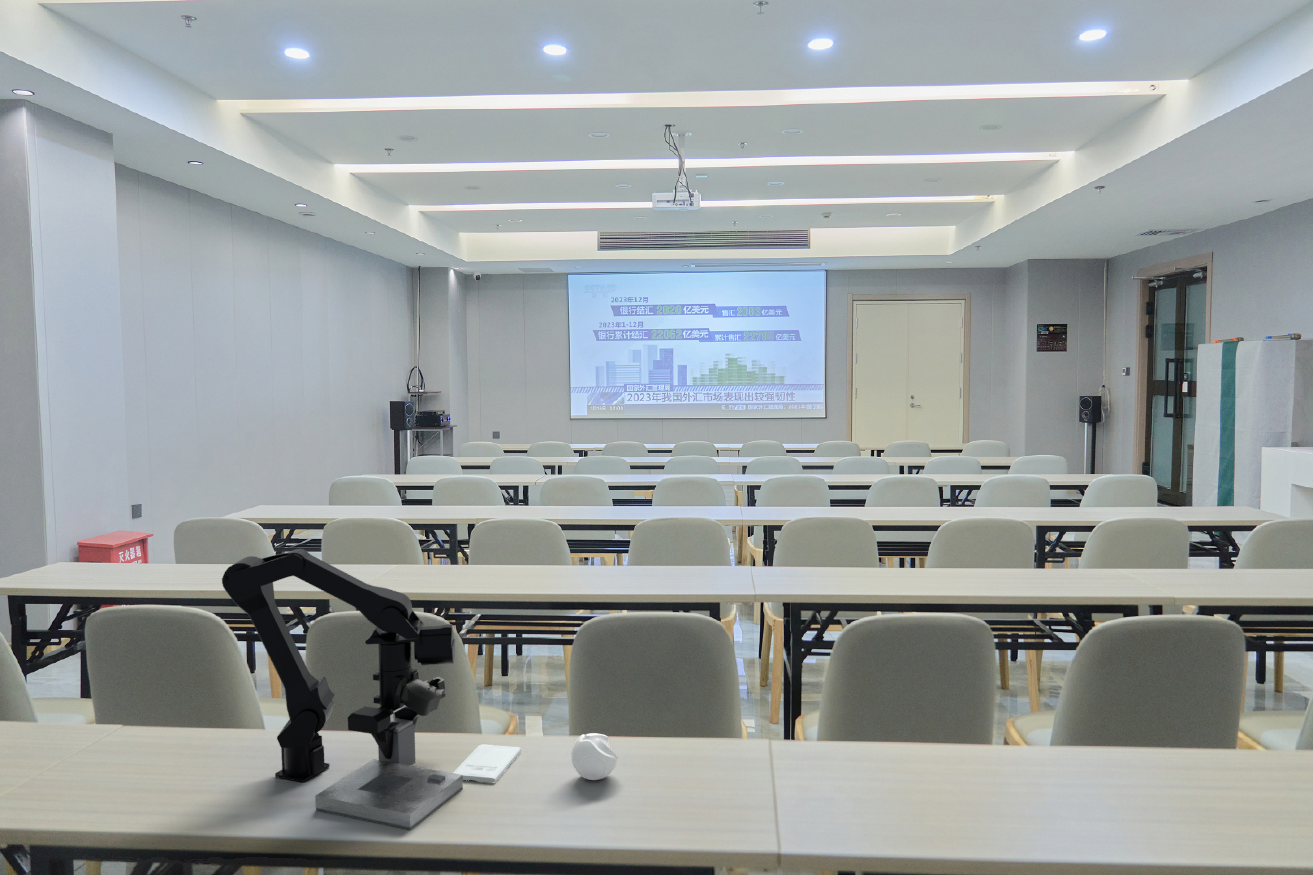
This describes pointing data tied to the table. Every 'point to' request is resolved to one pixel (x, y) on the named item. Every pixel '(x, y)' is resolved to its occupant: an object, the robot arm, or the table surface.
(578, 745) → the motion sensor
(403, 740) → the plug
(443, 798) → the socket
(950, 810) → the table surface
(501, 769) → the external hard drive
